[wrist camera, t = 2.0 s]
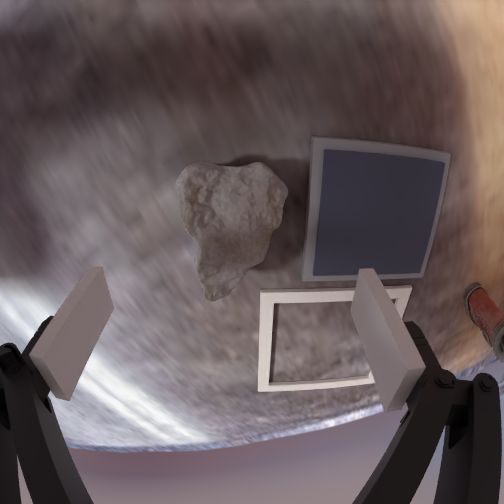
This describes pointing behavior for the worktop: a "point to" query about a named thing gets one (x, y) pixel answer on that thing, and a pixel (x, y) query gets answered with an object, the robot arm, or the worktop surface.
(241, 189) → the stone
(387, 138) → the worktop surface
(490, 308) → the lighter
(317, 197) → the ink pad
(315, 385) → the white flat square frame
